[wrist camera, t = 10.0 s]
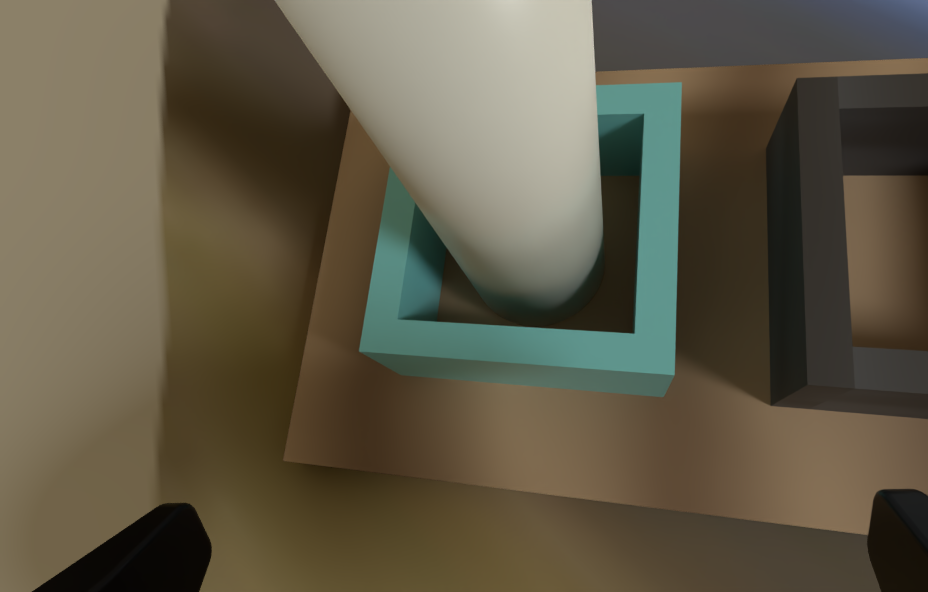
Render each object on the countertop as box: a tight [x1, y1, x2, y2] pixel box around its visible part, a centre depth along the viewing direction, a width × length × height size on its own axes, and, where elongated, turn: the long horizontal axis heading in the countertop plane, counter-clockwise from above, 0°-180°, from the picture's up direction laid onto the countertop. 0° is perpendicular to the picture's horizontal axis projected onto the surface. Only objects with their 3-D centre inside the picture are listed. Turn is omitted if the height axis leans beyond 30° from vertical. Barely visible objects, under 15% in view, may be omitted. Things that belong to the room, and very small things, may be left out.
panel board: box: [283, 58, 928, 535], centre depth 15 cm, size 22×12×4 cm, turn 83°
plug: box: [275, 0, 605, 326], centre depth 11 cm, size 4×4×12 cm
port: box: [359, 82, 682, 397], centre depth 16 cm, size 7×7×3 cm
